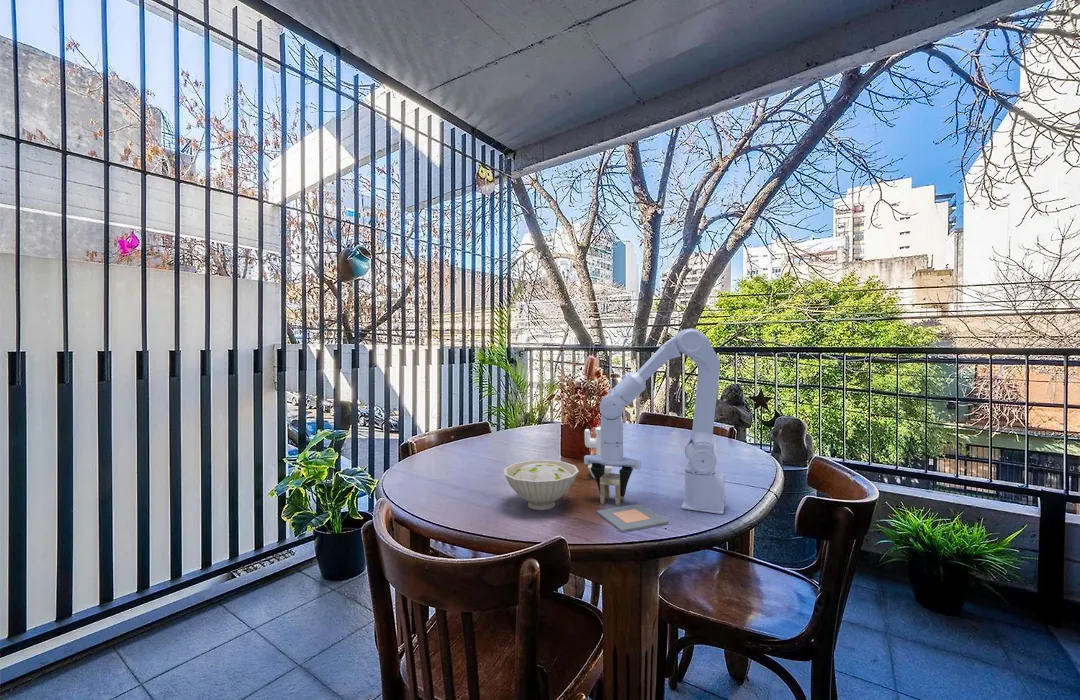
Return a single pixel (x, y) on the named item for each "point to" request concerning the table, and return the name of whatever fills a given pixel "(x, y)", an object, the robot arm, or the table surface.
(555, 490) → the bowl
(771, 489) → the table surface
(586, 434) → the figurine
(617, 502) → the stool
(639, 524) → the mat
